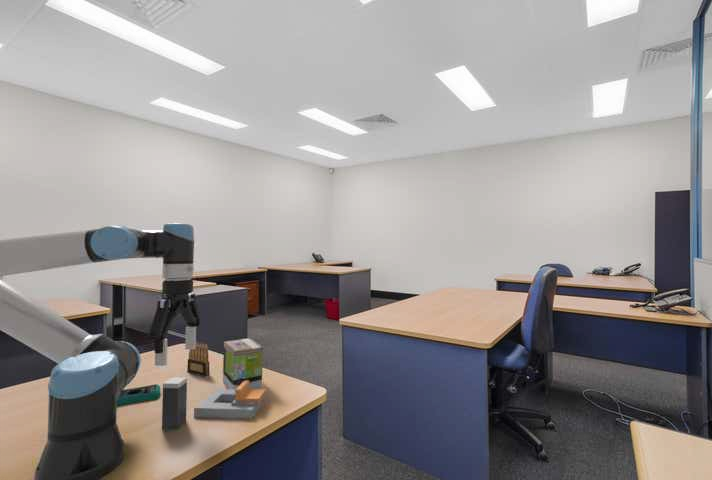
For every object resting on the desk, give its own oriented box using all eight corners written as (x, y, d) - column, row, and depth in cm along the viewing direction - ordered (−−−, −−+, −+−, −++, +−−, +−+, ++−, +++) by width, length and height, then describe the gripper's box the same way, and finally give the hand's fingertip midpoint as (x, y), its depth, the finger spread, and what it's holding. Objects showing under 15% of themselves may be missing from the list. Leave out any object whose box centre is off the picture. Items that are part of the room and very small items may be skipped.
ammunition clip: (187, 371, 128) (187, 341, 129) (191, 370, 130) (191, 339, 130) (205, 376, 123) (206, 344, 124) (209, 375, 125) (210, 343, 125)
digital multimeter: (159, 399, 105) (159, 390, 105) (101, 410, 98) (102, 400, 98) (160, 391, 111) (160, 382, 112) (106, 400, 104) (106, 391, 104)
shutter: (258, 404, 96) (258, 390, 96) (235, 403, 96) (235, 389, 96) (266, 393, 102) (266, 380, 103) (244, 393, 103) (244, 380, 103)
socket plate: (252, 418, 92) (252, 406, 93) (193, 416, 93) (194, 405, 93) (266, 398, 105) (267, 387, 106) (215, 396, 106) (215, 386, 106)
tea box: (263, 389, 112) (263, 346, 112) (232, 397, 106) (233, 351, 107) (249, 376, 124) (250, 336, 125) (222, 381, 118) (222, 340, 119)
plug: (177, 429, 87) (178, 383, 87) (161, 428, 87) (162, 383, 87) (186, 421, 91) (187, 377, 91) (171, 420, 91) (172, 377, 92)
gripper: (162, 283, 78) (160, 373, 77) (213, 275, 103) (212, 343, 102) (132, 283, 78) (130, 373, 77) (190, 275, 103) (188, 343, 102)
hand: (176, 356), depth 90 cm, fingers open, 13 cm apart
